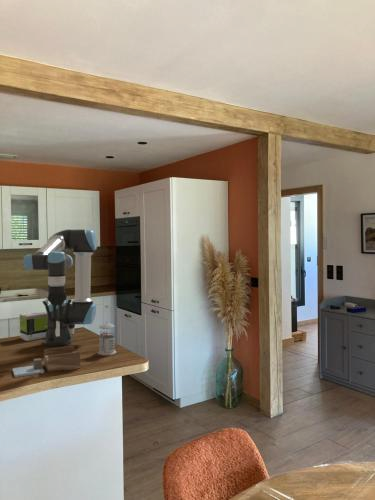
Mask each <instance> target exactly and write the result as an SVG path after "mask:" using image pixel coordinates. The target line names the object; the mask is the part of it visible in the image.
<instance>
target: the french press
mask: <svg viewBox="0 0 375 500" xmlns="http://www.w3.org/2000/svg"><path fill="white" fill-rule="evenodd" d="M104 307H105V308H110V307H109V305H108V304H106V305H105V306H104ZM115 327H116V326H115V325H114V324H113V323H108V322H106V323H102V324H100V325H99V327H98V328H99V329H101V331H100V332H99V337H98V339H99V341H98V343H99V350H98V351H97V355H101V356H110V355H115V354H116V353H117V351H116V350H115V334H114V332H108V331H105V330H110V329H113V328H115Z"/></svg>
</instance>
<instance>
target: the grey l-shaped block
mask: <svg viewBox="0 0 375 500" xmlns="http://www.w3.org/2000/svg"><path fill="white" fill-rule="evenodd" d="M42 361H43V360H42V358H41V357H40V358H33V365H28V366H19V367H14V368H12V373H13V376H14V378H19V376H20V377H25V376H32V375H40V374H39V373H41V374H45V370H44V368H43V366H42V364H43V363H42Z"/></svg>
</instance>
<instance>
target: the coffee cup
mask: <svg viewBox="0 0 375 500" xmlns="http://www.w3.org/2000/svg"><path fill="white" fill-rule="evenodd" d="M75 325H76V324H69V330H70V333H71V336H72V335H74V334H75V327H76V326H75Z"/></svg>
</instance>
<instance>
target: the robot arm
mask: <svg viewBox="0 0 375 500" xmlns="http://www.w3.org/2000/svg"><path fill="white" fill-rule="evenodd" d="M97 248H98V242H97V235H96V233H95V232H94V230H92V229H86V228H85V229H62V230H60V231H57V232H56V233H53V234H52V235H51V236H50V237H49V238H48V241H47V242H46V243H45V244H43V246H41V247H40V249H38V250H37V251H36V252H35V253H33V254H32V253H30V254H26V255H24V257H23V260H22V261H23V263H22V264H23V268H24V269H25V270H29V271H47V273H48V274H47V275H48V277H47V284H48V288H47V289H48V291H47V292H48V293H47V294H48V296H47V298H45V300H43V301H42V304H43V305H44V308H45V312H47V315H48V330H47V334H46V337H45V338H44V345H46V346H53V347H54V346H55V347H56V346H59V347H60V346H66V345H68V344H69V345H70V344H71V343H73V336H72V335H71V333H70V330H69V324H75V325H84V326H85V325H92V324H93V322H94V321H95V317H96V313H97V304H96V303H94V299H92V297H91V288H92V287H91V278H92V277H91V271H92V255H94V252H95V251H96V250H97ZM63 250H64V251H65V250H68V251H72V254H73V255H74V256H75V260H74V259H73V258H72V256H71V255H69V254H67V253H65V252H64V251H63ZM74 261H75V267H74V273H75V275H74V276H75V278H74V279H75V280H74V298H73V299H70V298H69V297H67V294H66V285H65V284H66V271H67V270H68V269H70V268H71V267H73V265H74Z"/></svg>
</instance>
